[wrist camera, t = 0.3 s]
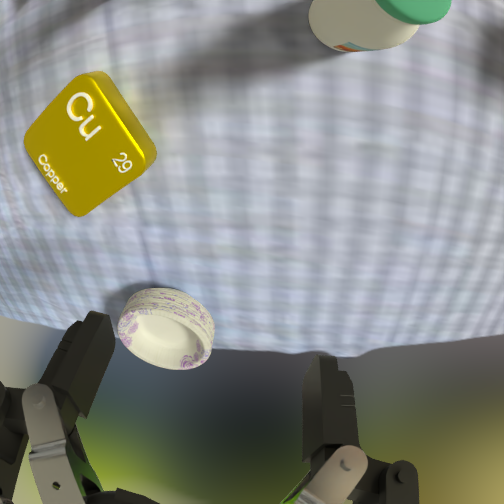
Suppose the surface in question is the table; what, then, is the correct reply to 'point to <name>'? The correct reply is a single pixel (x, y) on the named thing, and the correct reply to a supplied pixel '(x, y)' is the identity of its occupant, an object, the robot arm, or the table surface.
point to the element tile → (89, 143)
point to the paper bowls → (167, 328)
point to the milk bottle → (371, 21)
